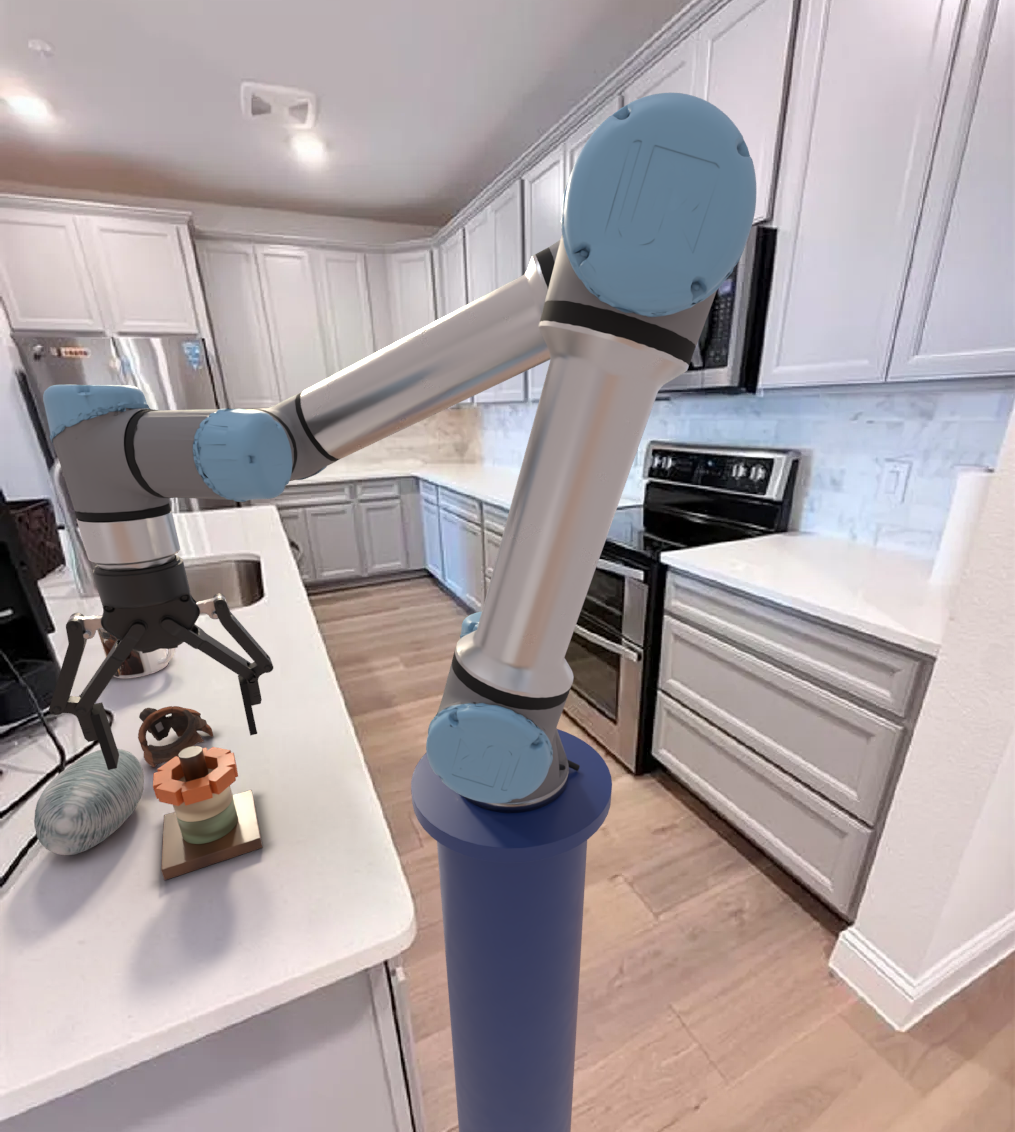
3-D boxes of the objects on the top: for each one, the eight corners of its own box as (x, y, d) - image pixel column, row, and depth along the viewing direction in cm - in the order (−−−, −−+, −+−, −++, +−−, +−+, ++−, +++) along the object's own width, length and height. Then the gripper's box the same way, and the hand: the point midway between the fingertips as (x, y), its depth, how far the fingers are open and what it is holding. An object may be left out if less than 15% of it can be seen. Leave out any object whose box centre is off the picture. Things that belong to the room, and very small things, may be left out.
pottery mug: (233, 738, 87) (213, 712, 80) (189, 790, 82) (164, 768, 75) (173, 708, 90) (149, 681, 83) (127, 757, 84) (97, 733, 78)
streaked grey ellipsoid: (79, 767, 74) (84, 719, 69) (156, 787, 77) (166, 742, 72) (8, 862, 63) (7, 814, 58) (100, 881, 66) (108, 836, 61)
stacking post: (253, 798, 73) (235, 719, 68) (262, 847, 65) (242, 762, 60) (166, 824, 69) (141, 742, 64) (164, 880, 60) (134, 791, 56)
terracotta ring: (234, 752, 69) (231, 740, 68) (240, 790, 62) (237, 776, 61) (158, 772, 65) (154, 760, 64) (155, 814, 58) (151, 800, 58)
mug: (164, 652, 117) (151, 602, 113) (182, 669, 109) (169, 617, 105) (105, 667, 110) (89, 615, 106) (120, 687, 102) (103, 632, 98)
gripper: (270, 537, 62) (297, 703, 70) (-19, 566, 51) (54, 758, 59) (279, 552, 56) (308, 731, 64) (-46, 588, 45) (39, 799, 53)
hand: (186, 745), depth 62 cm, fingers open, 13 cm apart
